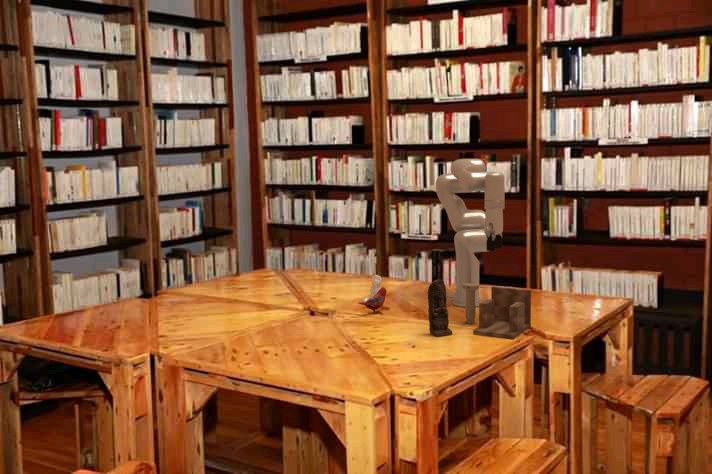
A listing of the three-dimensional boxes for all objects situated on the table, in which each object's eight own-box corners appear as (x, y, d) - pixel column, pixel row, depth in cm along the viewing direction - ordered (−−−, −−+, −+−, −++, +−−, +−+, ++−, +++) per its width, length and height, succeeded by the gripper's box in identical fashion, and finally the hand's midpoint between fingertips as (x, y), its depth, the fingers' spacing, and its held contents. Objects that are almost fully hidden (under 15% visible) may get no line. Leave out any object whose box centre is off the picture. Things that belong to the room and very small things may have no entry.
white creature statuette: (361, 304, 342) (360, 276, 340) (368, 300, 350) (368, 272, 348) (382, 305, 339) (382, 277, 337) (389, 301, 346) (389, 274, 345)
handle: (476, 325, 304) (476, 286, 302) (460, 323, 307) (460, 284, 305) (480, 322, 308) (480, 284, 306) (464, 320, 311) (464, 282, 309)
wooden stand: (473, 334, 291) (473, 296, 289) (492, 322, 308) (492, 286, 306) (513, 339, 284) (514, 300, 282) (530, 326, 301) (531, 289, 299)
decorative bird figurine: (389, 310, 329) (389, 286, 328) (360, 318, 316) (360, 293, 315) (384, 309, 331) (384, 285, 330) (355, 317, 318) (354, 292, 317)
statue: (437, 337, 287) (437, 282, 285) (426, 332, 294) (426, 278, 291) (453, 334, 291) (453, 280, 288) (442, 330, 297) (442, 277, 294)
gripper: (491, 203, 319) (491, 246, 321) (478, 206, 303) (478, 251, 305) (510, 203, 316) (510, 247, 317) (497, 206, 300) (497, 252, 302)
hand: (494, 249), depth 311 cm, fingers open, 9 cm apart
